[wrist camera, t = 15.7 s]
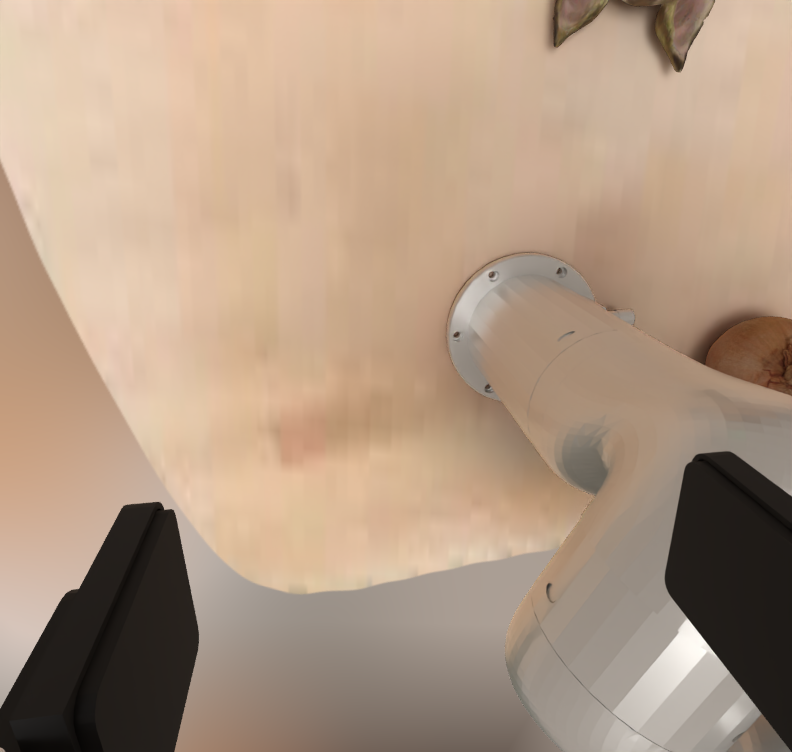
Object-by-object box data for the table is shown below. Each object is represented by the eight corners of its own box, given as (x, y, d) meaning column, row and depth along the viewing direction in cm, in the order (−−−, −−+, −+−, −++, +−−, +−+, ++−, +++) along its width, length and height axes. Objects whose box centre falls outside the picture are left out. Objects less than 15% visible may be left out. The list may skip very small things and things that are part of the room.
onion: (686, 323, 54) (729, 314, 44) (799, 319, 52) (869, 308, 42) (689, 426, 54) (732, 440, 44) (801, 424, 52) (872, 439, 42)
